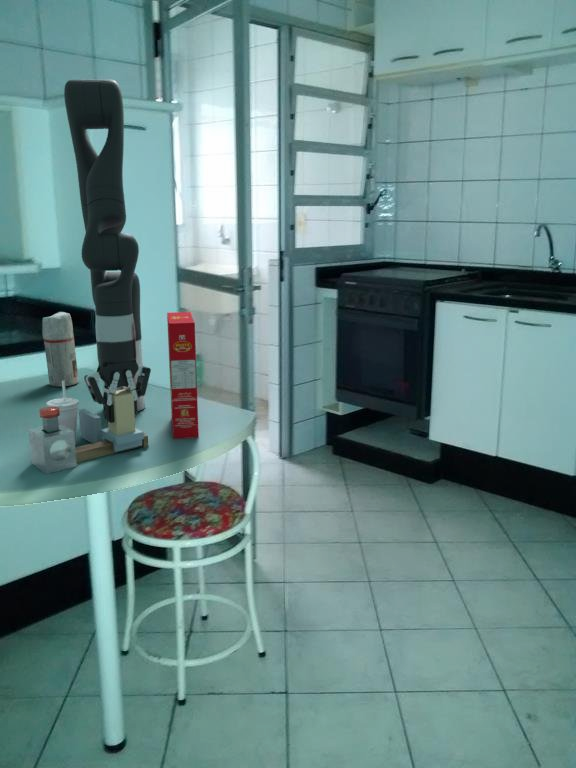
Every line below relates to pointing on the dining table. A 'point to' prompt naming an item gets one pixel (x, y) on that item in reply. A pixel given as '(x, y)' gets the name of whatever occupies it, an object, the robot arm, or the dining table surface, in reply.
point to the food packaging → (183, 374)
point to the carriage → (113, 424)
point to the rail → (100, 449)
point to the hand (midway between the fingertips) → (121, 419)
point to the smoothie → (66, 410)
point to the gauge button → (50, 419)
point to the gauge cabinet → (53, 449)
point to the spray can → (60, 349)
